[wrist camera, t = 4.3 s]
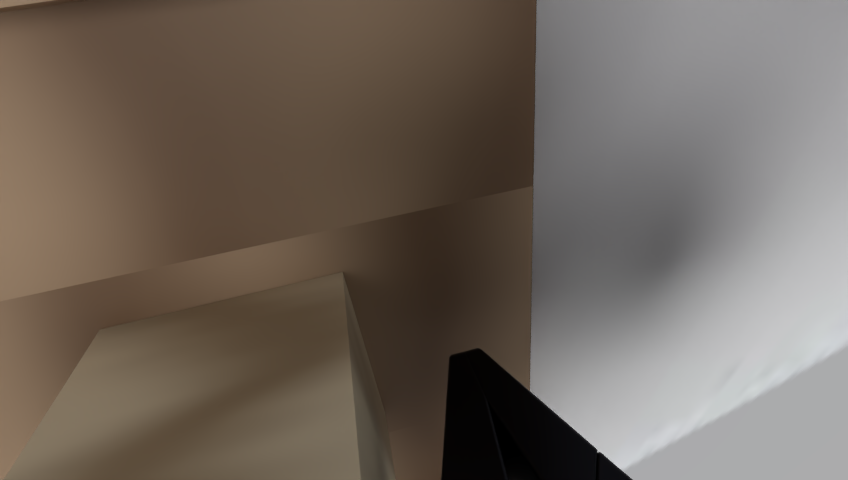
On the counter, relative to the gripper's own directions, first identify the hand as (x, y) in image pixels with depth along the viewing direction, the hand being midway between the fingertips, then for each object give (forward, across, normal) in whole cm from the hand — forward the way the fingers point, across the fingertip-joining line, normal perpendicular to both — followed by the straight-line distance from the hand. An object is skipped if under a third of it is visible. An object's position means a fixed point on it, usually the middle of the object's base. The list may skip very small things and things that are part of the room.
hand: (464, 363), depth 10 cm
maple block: (+1, +5, 0) cm, 5 cm away
